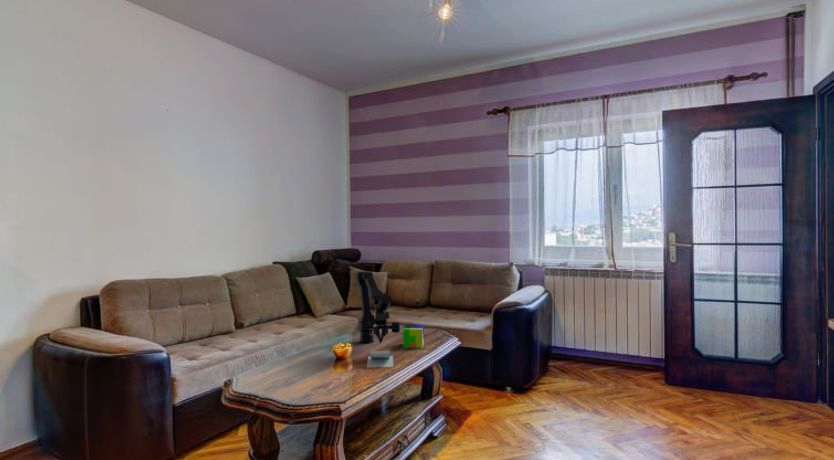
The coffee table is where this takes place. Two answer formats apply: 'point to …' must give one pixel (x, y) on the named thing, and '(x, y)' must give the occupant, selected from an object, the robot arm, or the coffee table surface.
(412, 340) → the puzzle toy
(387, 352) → the tile
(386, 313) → the robot arm
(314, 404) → the coffee table surface
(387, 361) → the mat
